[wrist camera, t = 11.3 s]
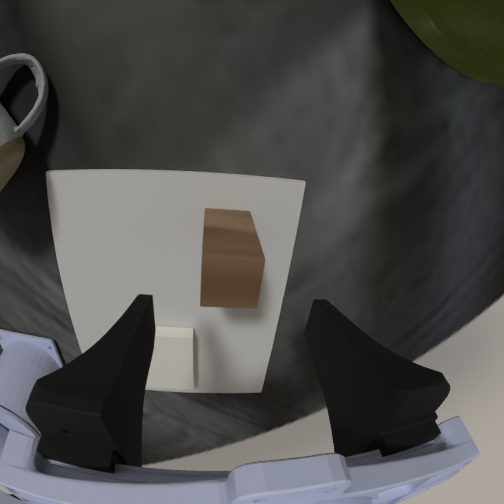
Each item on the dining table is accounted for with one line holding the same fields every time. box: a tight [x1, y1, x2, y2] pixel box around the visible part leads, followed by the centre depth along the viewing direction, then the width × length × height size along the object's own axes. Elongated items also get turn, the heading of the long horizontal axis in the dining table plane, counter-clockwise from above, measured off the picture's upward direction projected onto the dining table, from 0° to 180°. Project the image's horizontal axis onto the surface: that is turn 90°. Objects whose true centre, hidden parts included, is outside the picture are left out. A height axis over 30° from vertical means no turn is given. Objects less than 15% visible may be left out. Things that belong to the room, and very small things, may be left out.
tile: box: [146, 326, 194, 389], centre depth 25 cm, size 1×6×7 cm
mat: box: [46, 169, 306, 393], centre depth 24 cm, size 22×18×1 cm
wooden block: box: [200, 208, 265, 309], centre depth 18 cm, size 3×3×6 cm
